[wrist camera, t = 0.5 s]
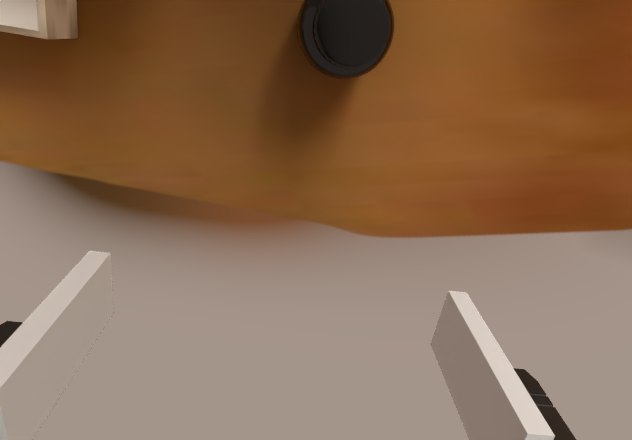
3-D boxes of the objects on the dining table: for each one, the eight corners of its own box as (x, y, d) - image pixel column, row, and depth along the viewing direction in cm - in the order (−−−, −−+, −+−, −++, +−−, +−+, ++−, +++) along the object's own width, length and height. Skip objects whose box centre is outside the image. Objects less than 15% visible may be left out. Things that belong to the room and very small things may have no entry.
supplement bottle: (391, 19, 38) (429, 14, 27) (344, 85, 40) (361, 106, 29) (328, -34, 36) (341, -62, 25) (282, 38, 38) (276, 42, 27)
